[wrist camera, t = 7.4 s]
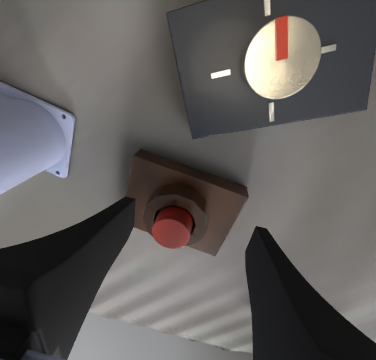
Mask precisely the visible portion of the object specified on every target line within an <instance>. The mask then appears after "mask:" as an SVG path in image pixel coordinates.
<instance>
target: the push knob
mask: <svg viewBox="0 0 376 360" xmlns="http://www.w3.org/2000/svg"><path fill="white" fill-rule="evenodd" d="M192 224H193V221H192V218H191V216H190V214H189V213H188V212H187V211H186V210H184V209H182V208H180V207H176V206H169V207H166V208H164V209H162V210H161V211H160V212H159V214H158V216H157V218H156V220H155V223H154V225H153V227H152V235H153V237H154V239H155V240H156V241H157V242H158V243H159V244H160V245H162V246H164V247H167V248H171V249H177V248H181V247H183V246H185V245H186V244H187V243H188V241H189V239H190V234H191V229H192Z"/></svg>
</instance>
